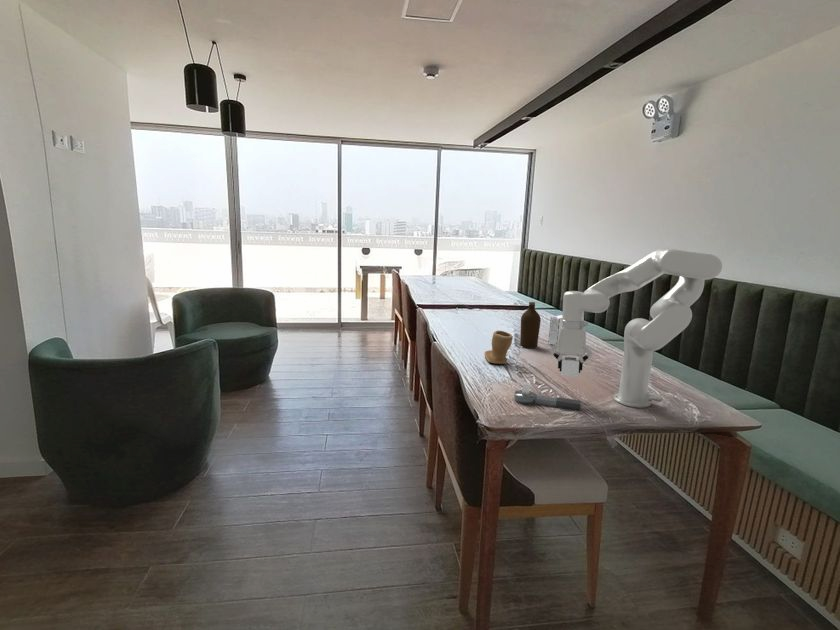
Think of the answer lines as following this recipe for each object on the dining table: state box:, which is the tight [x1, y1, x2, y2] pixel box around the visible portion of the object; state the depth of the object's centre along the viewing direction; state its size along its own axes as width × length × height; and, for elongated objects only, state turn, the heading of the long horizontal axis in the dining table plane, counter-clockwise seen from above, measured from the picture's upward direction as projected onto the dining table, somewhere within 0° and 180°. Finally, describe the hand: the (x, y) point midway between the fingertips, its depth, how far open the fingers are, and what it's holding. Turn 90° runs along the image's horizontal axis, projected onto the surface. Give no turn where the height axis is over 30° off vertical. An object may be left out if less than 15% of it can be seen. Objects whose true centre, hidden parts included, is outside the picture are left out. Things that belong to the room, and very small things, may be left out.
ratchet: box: [513, 382, 583, 411], centre depth 153 cm, size 24×8×6 cm, turn 71°
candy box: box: [547, 314, 562, 346], centre depth 242 cm, size 14×6×16 cm, turn 130°
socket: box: [560, 355, 580, 378], centre depth 159 cm, size 6×6×6 cm
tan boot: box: [484, 330, 514, 365], centre depth 204 cm, size 15×12×15 cm
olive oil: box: [519, 301, 542, 349], centre depth 233 cm, size 11×11×25 cm
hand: (569, 370), depth 159 cm, fingers closed on socket, 6 cm apart
